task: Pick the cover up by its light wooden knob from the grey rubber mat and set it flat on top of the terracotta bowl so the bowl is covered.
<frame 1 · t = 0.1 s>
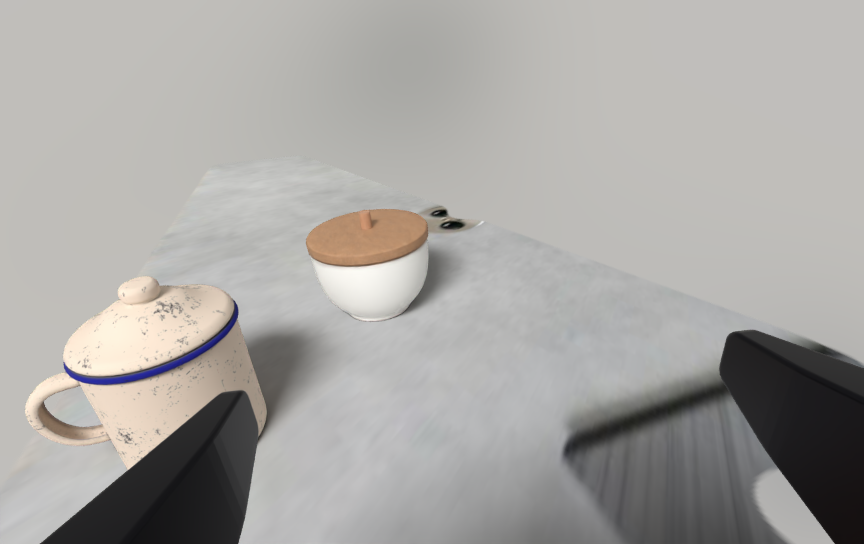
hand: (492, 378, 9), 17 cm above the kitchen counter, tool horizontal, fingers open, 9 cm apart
lidded jar: (379, 305, 44), on the kitchen counter
teacup with lid: (179, 445, 30), on the kitchen counter
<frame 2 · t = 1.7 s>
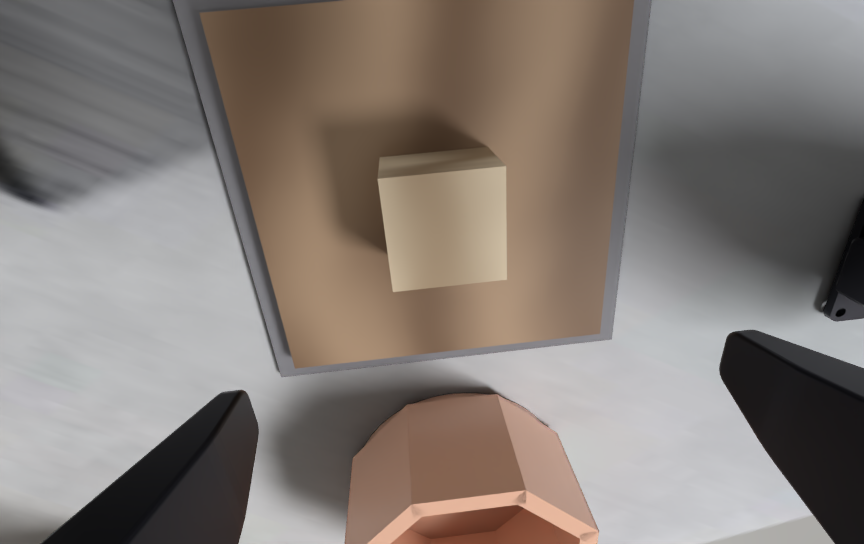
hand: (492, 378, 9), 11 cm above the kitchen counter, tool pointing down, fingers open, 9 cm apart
bowl: (457, 468, 26), on the kitchen counter
cover: (436, 197, 18), resting on mat
mat: (435, 195, 19), on the kitchen counter
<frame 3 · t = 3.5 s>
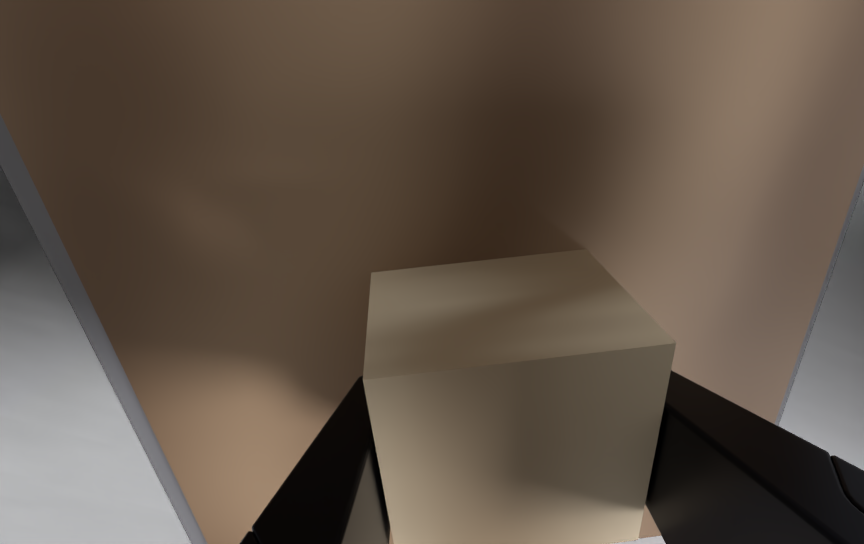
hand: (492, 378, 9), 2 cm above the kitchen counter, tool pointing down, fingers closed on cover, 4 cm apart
cover: (476, 327, 10), resting on mat, touching gripper
mat: (474, 320, 10), on the kitchen counter
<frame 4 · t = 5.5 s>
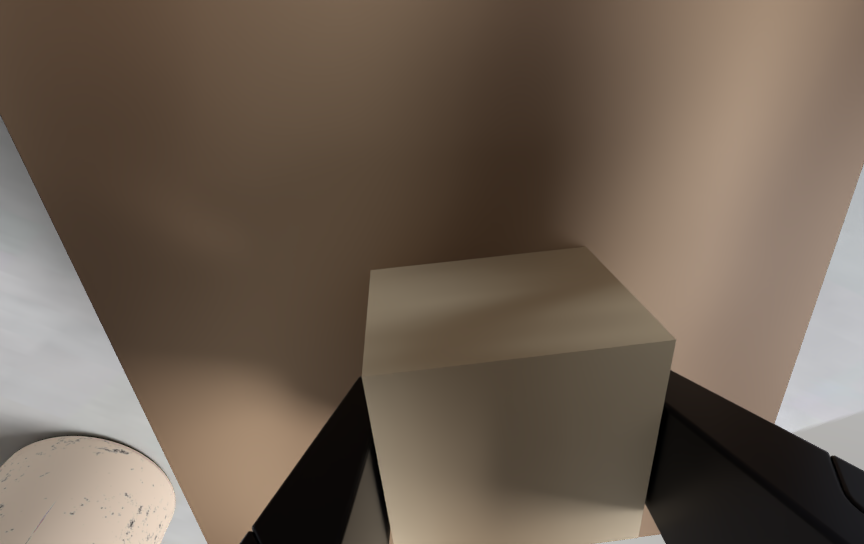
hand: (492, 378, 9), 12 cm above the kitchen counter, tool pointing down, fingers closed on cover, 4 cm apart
teacup with lid: (116, 501, 26), on the kitchen counter
cover: (476, 325, 10), point 10 cm above the kitchen counter, touching gripper
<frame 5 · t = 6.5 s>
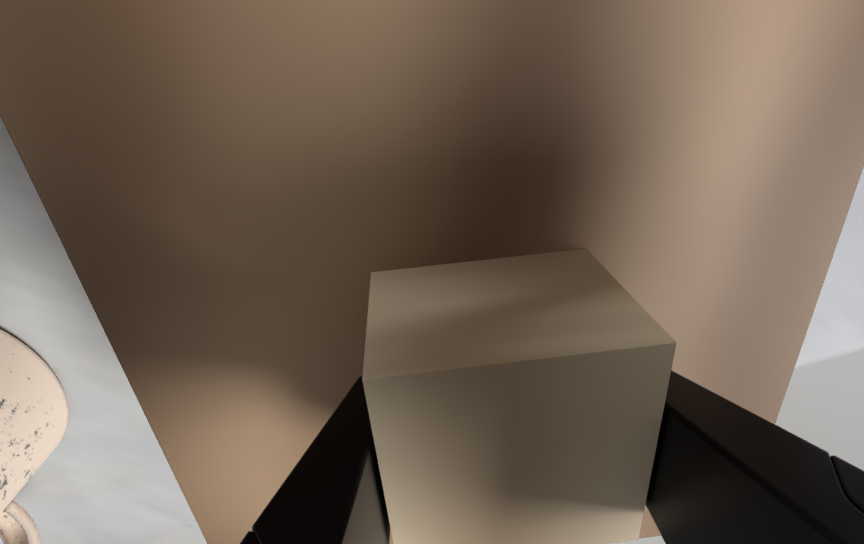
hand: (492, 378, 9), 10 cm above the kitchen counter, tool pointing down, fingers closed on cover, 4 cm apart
cover: (476, 327, 10), point 8 cm above the kitchen counter, touching gripper
when the fingers open (9 cm above the kitchen counter, at t = 7.4 s): cover drops 1 cm, resting on bowl.
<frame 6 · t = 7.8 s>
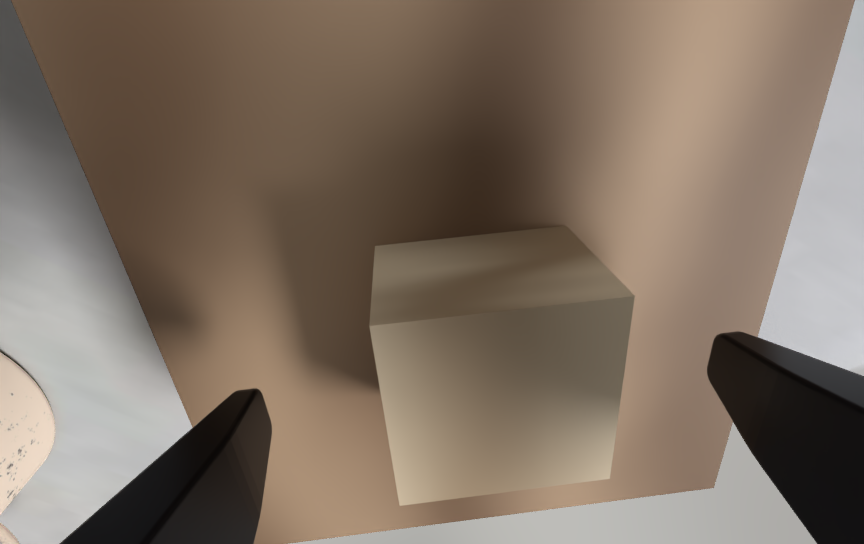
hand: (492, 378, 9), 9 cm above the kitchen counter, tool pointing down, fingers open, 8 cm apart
cover: (469, 299, 11), point 6 cm above the kitchen counter, touching bowl
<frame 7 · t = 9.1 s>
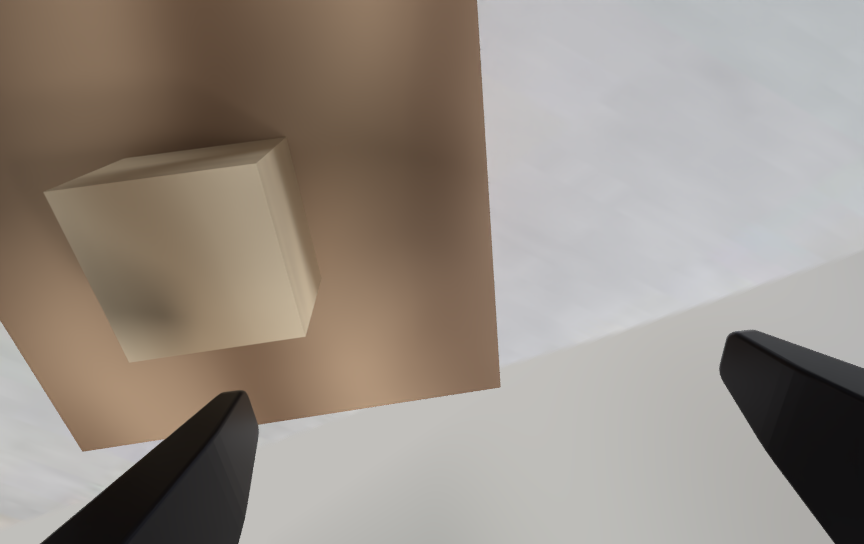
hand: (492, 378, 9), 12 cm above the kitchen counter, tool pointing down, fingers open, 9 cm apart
cover: (239, 213, 13), point 6 cm above the kitchen counter, touching bowl
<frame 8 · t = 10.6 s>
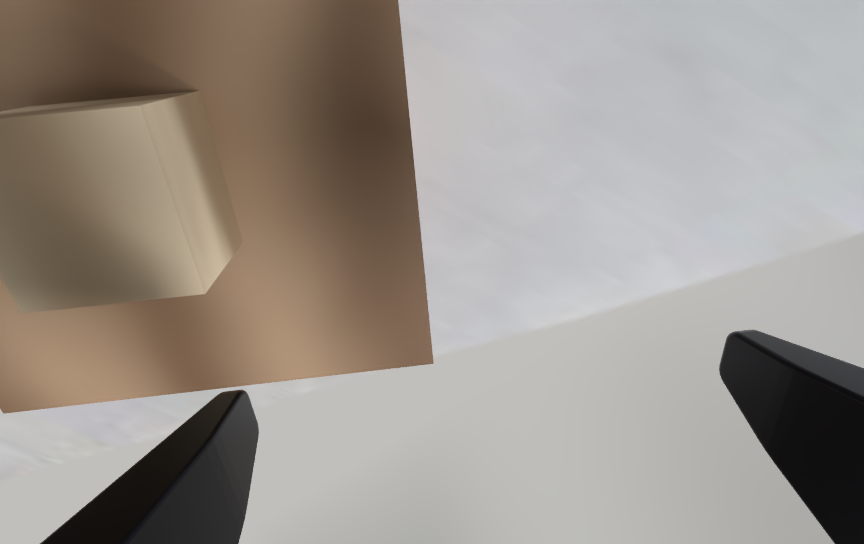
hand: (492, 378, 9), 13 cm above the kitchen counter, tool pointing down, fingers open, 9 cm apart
cover: (159, 172, 13), point 6 cm above the kitchen counter, touching bowl
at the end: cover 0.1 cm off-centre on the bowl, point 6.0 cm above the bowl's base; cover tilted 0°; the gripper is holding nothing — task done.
